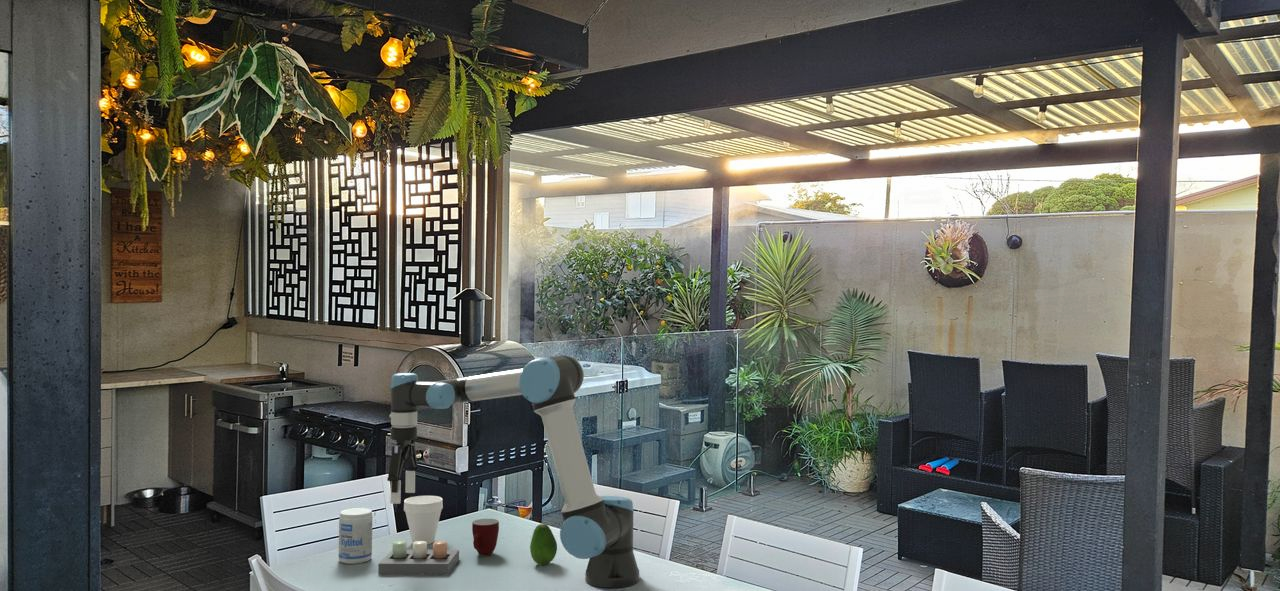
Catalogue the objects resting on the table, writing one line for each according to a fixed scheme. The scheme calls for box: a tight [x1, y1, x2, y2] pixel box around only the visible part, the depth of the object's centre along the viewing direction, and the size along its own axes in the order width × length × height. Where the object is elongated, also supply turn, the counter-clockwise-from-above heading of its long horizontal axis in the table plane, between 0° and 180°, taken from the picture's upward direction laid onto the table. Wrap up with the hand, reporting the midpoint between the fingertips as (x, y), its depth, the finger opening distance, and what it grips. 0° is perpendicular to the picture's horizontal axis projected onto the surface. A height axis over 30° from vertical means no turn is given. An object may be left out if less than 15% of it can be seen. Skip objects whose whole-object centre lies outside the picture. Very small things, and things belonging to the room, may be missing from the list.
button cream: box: [412, 541, 428, 559], centre depth 255 cm, size 4×4×4 cm
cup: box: [403, 495, 444, 545], centre depth 282 cm, size 12×12×14 cm
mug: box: [471, 518, 500, 557], centre depth 266 cm, size 10×8×10 cm
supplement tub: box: [338, 507, 373, 565], centre depth 262 cm, size 10×10×15 cm
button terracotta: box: [432, 540, 448, 559], centre depth 255 cm, size 4×4×4 cm
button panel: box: [377, 549, 460, 575], centre depth 255 cm, size 20×14×3 cm
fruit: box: [529, 523, 558, 566], centre depth 257 cm, size 8×8×12 cm
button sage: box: [392, 540, 408, 558], centre depth 255 cm, size 4×4×4 cm
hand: (403, 497), depth 256 cm, fingers open, 13 cm apart
